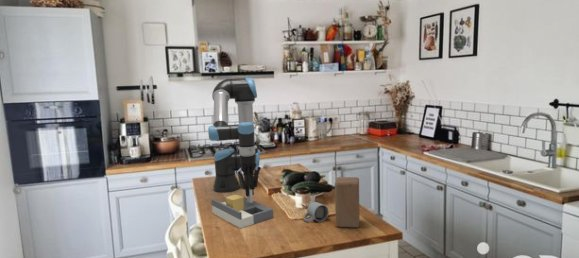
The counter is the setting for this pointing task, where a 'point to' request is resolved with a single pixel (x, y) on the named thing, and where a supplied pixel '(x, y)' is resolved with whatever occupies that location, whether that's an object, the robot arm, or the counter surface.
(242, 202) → the ochre cube
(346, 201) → the wooden block
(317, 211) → the ceramic mug
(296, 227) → the counter surface
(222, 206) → the tray
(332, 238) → the counter surface
